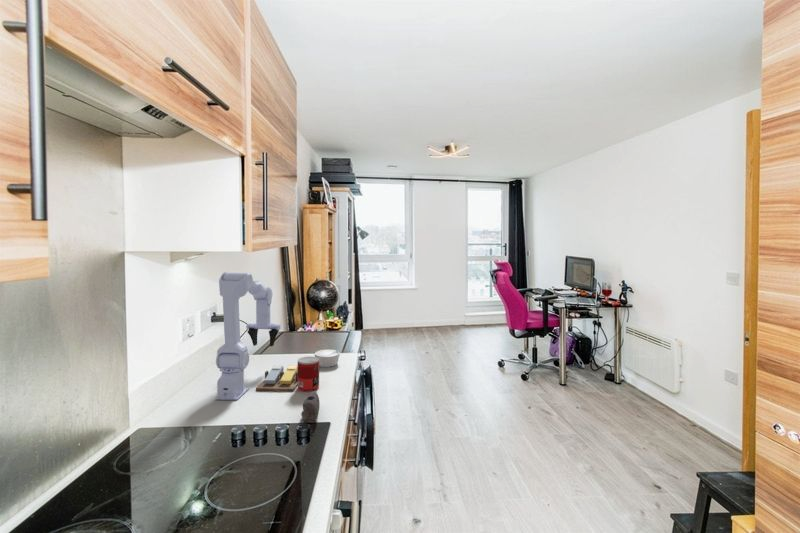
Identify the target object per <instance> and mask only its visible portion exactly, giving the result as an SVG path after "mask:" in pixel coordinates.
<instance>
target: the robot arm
mask: <svg viewBox="0 0 800 533" xmlns="http://www.w3.org/2000/svg"><path fill="white" fill-rule="evenodd" d="M218 285H219V286H218V287H219V290H218V291H219V295H220V296H221V297H222V309H223V310H222V311H223V314H222V315H223V330H224V331H223V332H224V334H223V335H224V344H222V345H221V346H220V347H219V348H218V349H217V351H216V358H215V365H216V367H217V368H218V370H219V372H221V375H220V377H219V378H218V380H217V383H216V384H217V386H216V388H217V395H216V397H215V398H214V400H217V401H218V400H223V401H225V400H227V401H237V400H239V399H240V398H241V397H243V395H244V394H245V393H246V392H248V391H249V387H245V369H246V368H247V367H248V365H249V364H250V363H249V362H250V354H249V351H248V350H249V349H248V347H247V345H245V344H244V343H243V342H241V328H240V327H241V323H240V301H239V300H240V298H243V297H244V296H246V295H247V294H248V293H249V294H250V295H252V297H253V300H254V301H255V304H256V305H255V307H256V308H255V310H256V311H255V312H256V313H255V316H256V317H255V319H256V321H255V322H256V323H247V324H246V327H245V328H246V330H247V333H248V335H249V337H250V338H251V342H252V344H253V347H255V346H257V345H258V333H259V330H268V334H269V346H270V347H273V346H274V345H275V340H276V338H277V335H278V333H279V331H280V330H281V324H275V323H271V304H272V299H273V290H272V288H270V287H268V286H267V287H266V286H265V285H264V284H262V283H261V281H260V280H254V279H253V274H252V273H250V272H226V271H224V272H223V273H222V274H221V275H220V277H219V279H218Z"/></svg>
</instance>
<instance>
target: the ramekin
mask: <svg viewBox="0 0 800 533" xmlns="http://www.w3.org/2000/svg"><path fill="white" fill-rule="evenodd" d="M314 352H315V351H314ZM340 355H341V354H340V351H338V350H336V349H321V350H317V351H316V352H315V353H314V357H317V358H319V367H320V366H321V367H320V368H331V367H330V366H332V367H335V366H337V364H338V362H339V358H340V357H339V356H340ZM334 365H335V366H334Z"/></svg>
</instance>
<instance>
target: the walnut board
mask: <svg viewBox="0 0 800 533" xmlns="http://www.w3.org/2000/svg"><path fill="white" fill-rule="evenodd" d="M284 373H285V371H284V370H283V371H281V372H280V376H279V378H278V380H277V381H276V383H275V384H265V382H264V380H262V381H261V383H259V384H258V385H257V386H256V387H255V391H257V392H295V390H296V389H297V388H298V371H297V372H296V373H295V374H296V375H295V377H294V379H293V381H292V383H291V384H280V380H281V378H282V376H283V375H284ZM268 374H269V370H266V371H264V379H265V378H266V377H267V375H268Z"/></svg>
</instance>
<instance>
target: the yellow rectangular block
mask: <svg viewBox="0 0 800 533" xmlns="http://www.w3.org/2000/svg"><path fill="white" fill-rule="evenodd" d="M297 371H298V365H288V366H287V368H286V370H285V371H284V375H283V376H282V378H281V380H280V384H291V383H292V381H293V379H294V377H295V375H296V374H295V373H296V372H297Z"/></svg>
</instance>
